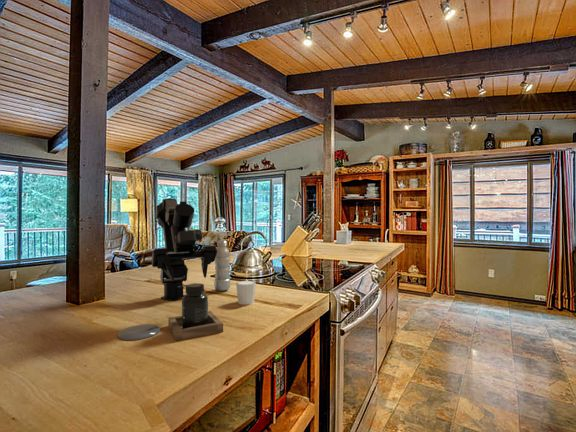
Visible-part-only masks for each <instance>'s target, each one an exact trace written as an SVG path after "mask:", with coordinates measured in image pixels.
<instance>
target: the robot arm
mask: <svg viewBox="0 0 576 432" xmlns="http://www.w3.org/2000/svg"><path fill="white" fill-rule="evenodd" d="M194 216H195V208H194V207H193V206H192V205H191V204H189V203H187V201H179V203H178V201H177V199H176V198H164V199H163V198H162V201H161V202H160V203H159V204H157V205H156V208H155V219H156V220H157V224H158V225H159V227H161V228H162V233H163V242H164V248H154V249H153V250H152V252H151V253H152V254H151V266H152V267H153V268H157V269H158V270H159V269H160V270H161V271H160V282H161V284H163V291H164V292H163V296H161V297H160V300H161V299H162V300H167V301H176V300H179V299H180V300H181V299H182V298H183V297H184V296H185V295H186V294H184V284H183V282H186V281H188V273H189V272H188V271H189V268H188V267H187V265H186V264H185V260H188V259H189V260H190V259H200V260H201V261H200V262H201V264H200V265H201V269H202V270H201V271H202V275H203V277H204V278H205V279H206V278H207V273H208V267H209V265H211V264H212V263H213V262H214V263H215V257H216V254H217V248H218V247H217V246H216V245H203V246H202V250H197V251H196V250H195V249H196V246H197V245H196V243H197V242H198V241H199V242H200V241H202V239H203V233H202V229H200V228H199V229H194V230H190V227H191V226H192V224H193V219H194V218H195V217H194Z"/></svg>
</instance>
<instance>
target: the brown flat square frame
mask: <svg viewBox="0 0 576 432" xmlns="http://www.w3.org/2000/svg"><path fill="white" fill-rule="evenodd" d="M167 319H168V328H169V329H170V331H171V333H172V335H173V337H174V339H175V341H176V342H177V341H182V340H183V341H184V340H187V339H194V338H198V337H204V336H208V335H213V334H218V333H223V332H224V323H223V322H222V321H221V320H220V319H219V318H218V317H217V316H216V315H215V314H214V313H213V311H211V310H208V324H207V325H201V326H195V327H190V328H184V329H182V327H181V326H182V315H177V316H176V315H175V316H170V317H168V318H167Z"/></svg>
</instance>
